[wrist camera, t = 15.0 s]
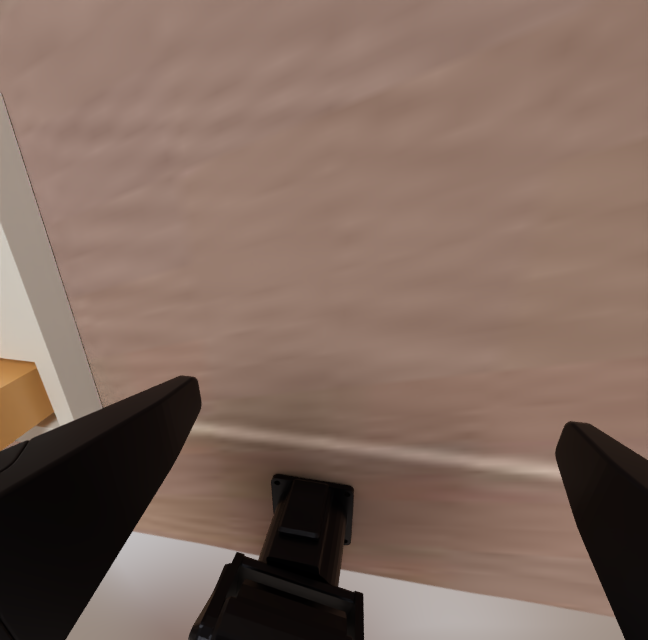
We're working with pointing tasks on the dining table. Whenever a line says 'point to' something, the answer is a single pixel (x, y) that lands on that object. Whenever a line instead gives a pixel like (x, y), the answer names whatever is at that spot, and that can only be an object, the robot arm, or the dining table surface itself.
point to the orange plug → (20, 399)
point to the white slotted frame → (37, 297)
